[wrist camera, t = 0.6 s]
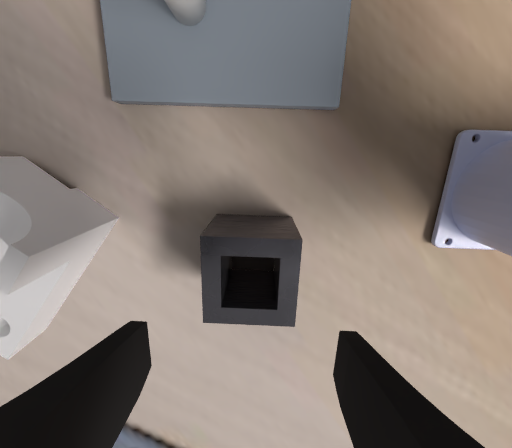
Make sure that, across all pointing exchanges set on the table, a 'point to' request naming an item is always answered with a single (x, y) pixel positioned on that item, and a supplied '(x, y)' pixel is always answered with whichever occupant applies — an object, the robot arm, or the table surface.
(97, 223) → the bracket
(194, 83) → the plate with peg
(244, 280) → the dark grey hollow block
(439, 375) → the table surface
